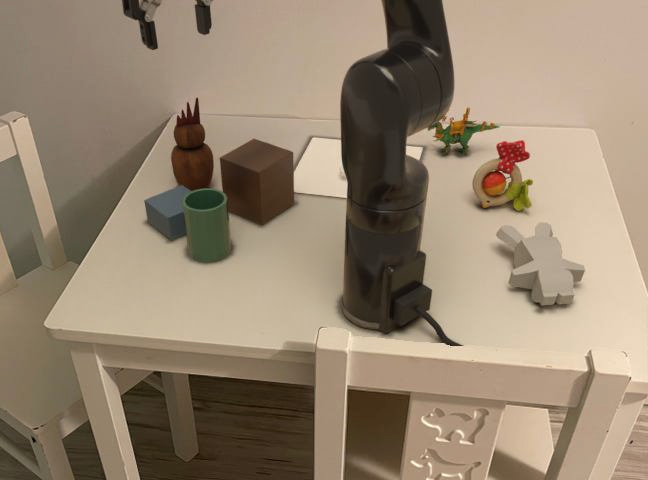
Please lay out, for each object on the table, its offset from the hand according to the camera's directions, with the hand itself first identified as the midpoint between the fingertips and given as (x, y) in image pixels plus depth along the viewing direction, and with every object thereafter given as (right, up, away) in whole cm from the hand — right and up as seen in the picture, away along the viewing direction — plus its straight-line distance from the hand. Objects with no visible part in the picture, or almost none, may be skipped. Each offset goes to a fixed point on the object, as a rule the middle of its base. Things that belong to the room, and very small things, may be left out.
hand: (178, 40), depth 103 cm
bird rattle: (+49, -21, +11) cm, 54 cm away
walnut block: (+11, -20, +15) cm, 27 cm away
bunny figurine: (+49, -33, -2) cm, 59 cm away
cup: (+4, -28, +6) cm, 29 cm away
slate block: (-1, -23, +12) cm, 26 cm away
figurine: (+46, -9, +25) cm, 53 cm away
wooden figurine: (+1, -16, +21) cm, 26 cm away
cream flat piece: (+28, -12, +23) cm, 38 cm away
